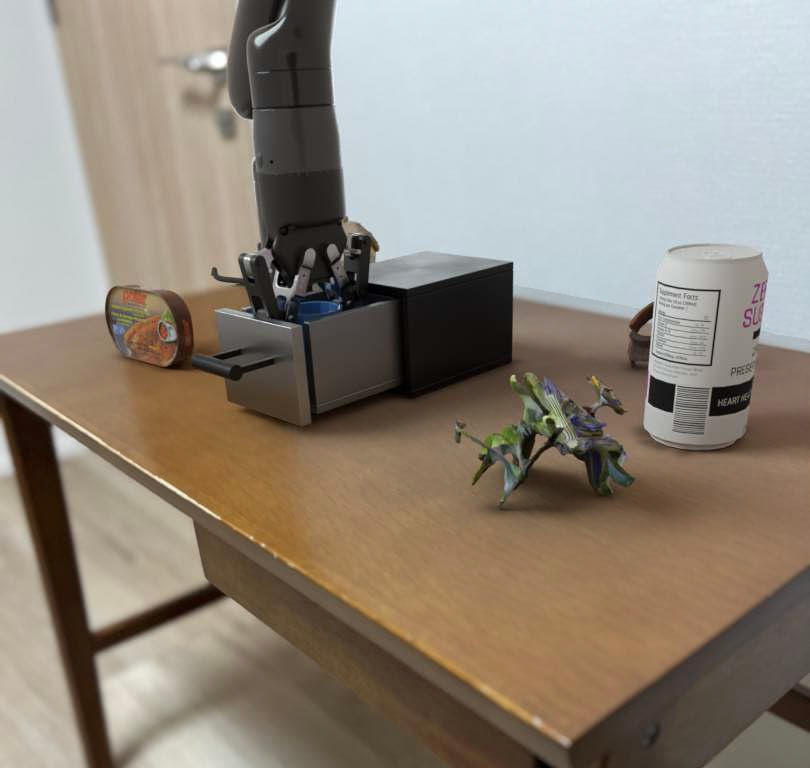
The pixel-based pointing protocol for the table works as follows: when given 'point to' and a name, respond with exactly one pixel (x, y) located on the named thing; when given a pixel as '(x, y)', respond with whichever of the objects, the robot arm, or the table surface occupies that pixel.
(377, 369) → the dish drawer
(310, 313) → the blue cup
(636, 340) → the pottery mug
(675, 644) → the table surface
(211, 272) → the robot arm
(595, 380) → the passion flower
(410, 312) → the black drawer cabinet
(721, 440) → the supplement can
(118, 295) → the tin
